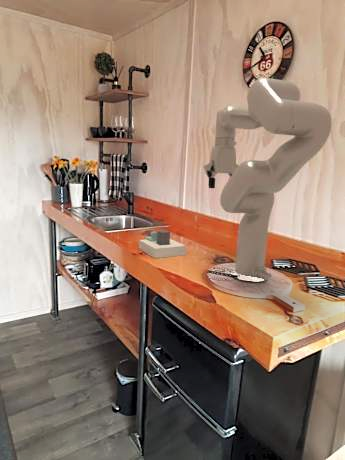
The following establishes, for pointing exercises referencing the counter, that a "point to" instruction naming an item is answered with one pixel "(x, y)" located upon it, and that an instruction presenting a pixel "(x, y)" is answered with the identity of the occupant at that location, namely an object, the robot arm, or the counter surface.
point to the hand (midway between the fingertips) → (221, 188)
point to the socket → (162, 248)
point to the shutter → (152, 237)
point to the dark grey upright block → (163, 237)
